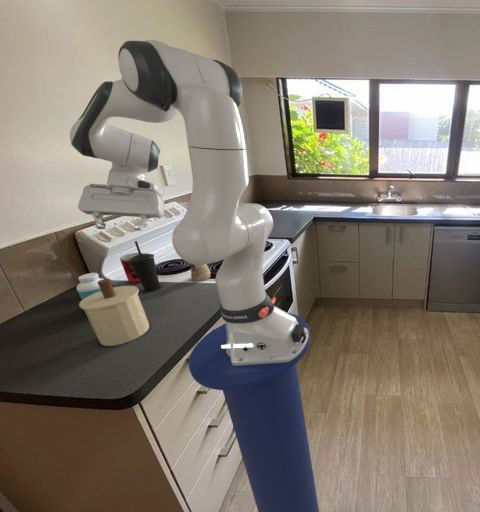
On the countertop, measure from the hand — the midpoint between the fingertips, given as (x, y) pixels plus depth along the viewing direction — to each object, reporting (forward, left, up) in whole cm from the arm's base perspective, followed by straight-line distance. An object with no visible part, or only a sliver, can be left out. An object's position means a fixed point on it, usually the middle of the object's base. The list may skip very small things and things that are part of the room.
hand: (119, 229), depth 85 cm
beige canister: (0, +10, -30) cm, 32 cm away
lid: (0, +10, -18) cm, 20 cm away
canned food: (+28, -24, -31) cm, 48 cm away
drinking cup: (+16, -17, -30) cm, 38 cm away
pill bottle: (+20, -1, -31) cm, 36 cm away
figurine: (+3, -28, -31) cm, 42 cm away
